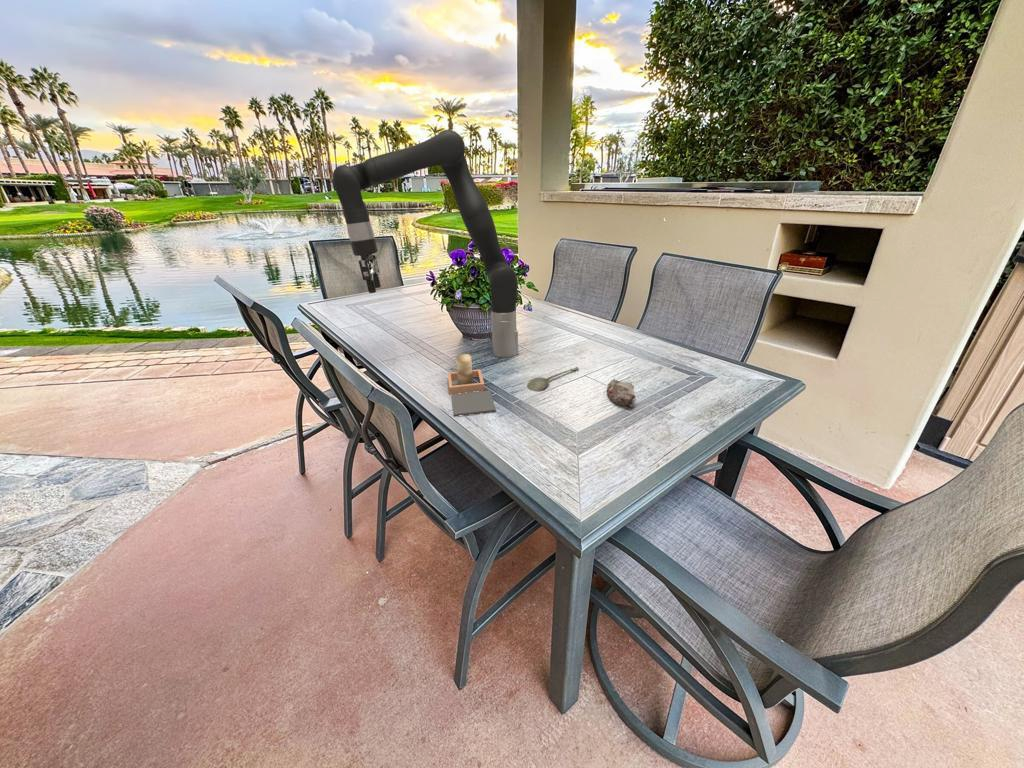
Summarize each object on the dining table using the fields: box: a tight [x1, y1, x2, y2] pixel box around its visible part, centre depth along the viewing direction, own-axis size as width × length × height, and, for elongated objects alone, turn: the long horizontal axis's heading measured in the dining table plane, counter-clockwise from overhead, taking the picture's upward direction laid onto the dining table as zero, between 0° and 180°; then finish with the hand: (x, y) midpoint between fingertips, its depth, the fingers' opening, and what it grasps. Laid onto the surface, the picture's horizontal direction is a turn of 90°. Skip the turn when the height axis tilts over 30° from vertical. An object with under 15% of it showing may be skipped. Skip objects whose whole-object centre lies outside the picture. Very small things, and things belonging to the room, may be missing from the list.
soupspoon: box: [526, 366, 580, 392], centre depth 130 cm, size 22×3×7 cm
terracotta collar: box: [447, 368, 486, 395], centre depth 128 cm, size 11×11×2 cm
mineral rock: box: [606, 379, 637, 408], centre depth 118 cm, size 15×8×4 cm, turn 167°
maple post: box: [455, 353, 474, 385], centre depth 126 cm, size 5×5×10 cm
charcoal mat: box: [451, 390, 497, 417], centre depth 117 cm, size 12×12×1 cm
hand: (375, 290), depth 130 cm, fingers open, 8 cm apart
